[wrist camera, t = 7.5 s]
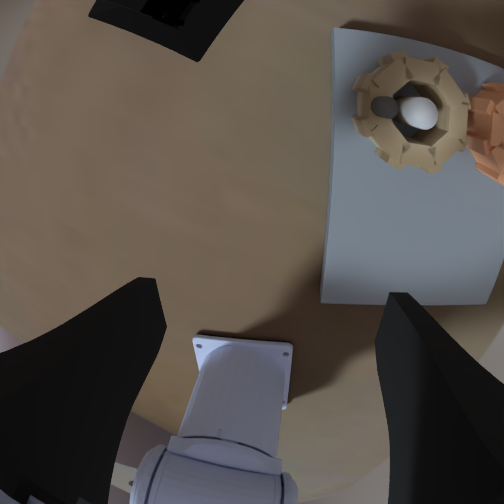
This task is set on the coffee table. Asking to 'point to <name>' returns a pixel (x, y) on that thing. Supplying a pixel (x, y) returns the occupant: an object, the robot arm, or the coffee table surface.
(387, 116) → the gear
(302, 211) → the coffee table surface
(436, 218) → the gear board
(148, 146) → the coffee table surface
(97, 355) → the robot arm
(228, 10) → the black piece
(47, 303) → the coffee table surface
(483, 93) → the gear
